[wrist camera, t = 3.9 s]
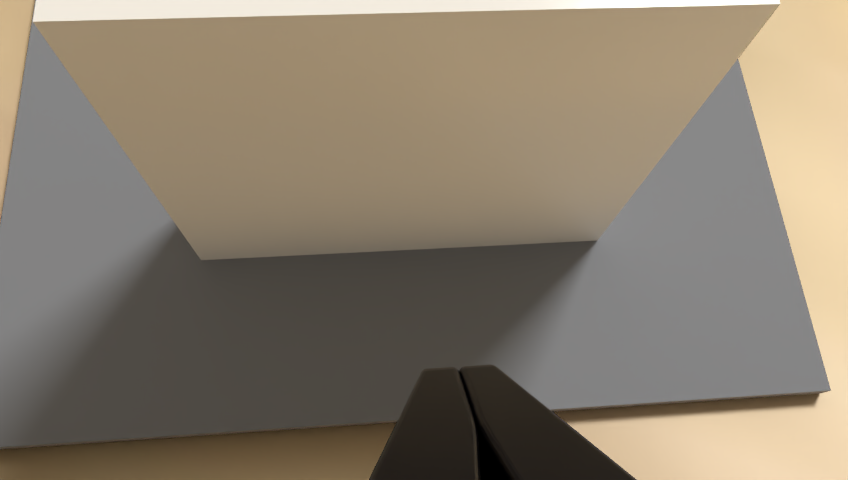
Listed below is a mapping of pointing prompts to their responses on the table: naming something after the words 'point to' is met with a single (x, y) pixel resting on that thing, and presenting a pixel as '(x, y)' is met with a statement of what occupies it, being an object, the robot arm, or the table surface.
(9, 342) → the mat
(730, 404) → the table surface
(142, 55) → the tile
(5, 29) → the table surface
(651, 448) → the table surface
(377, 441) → the table surface
